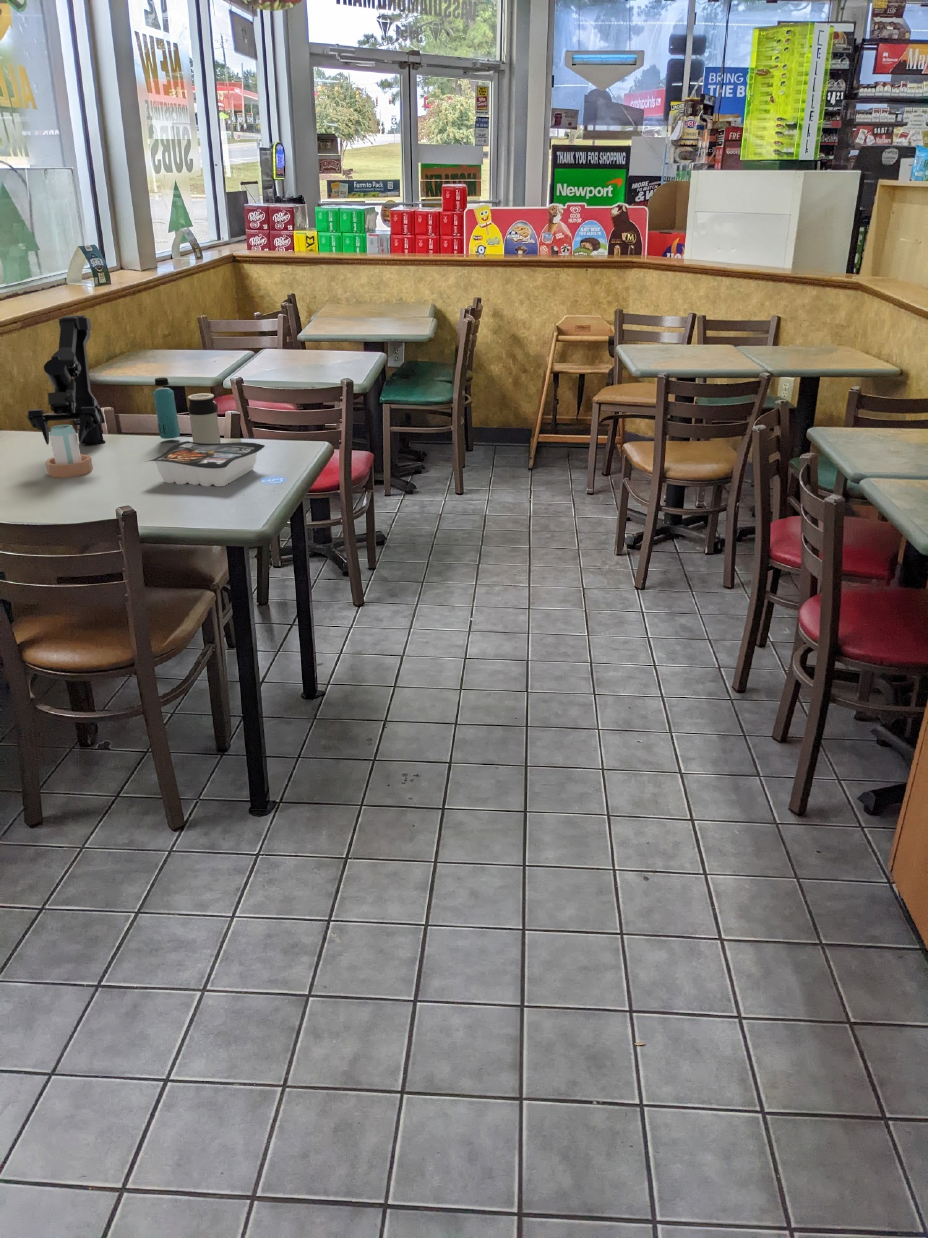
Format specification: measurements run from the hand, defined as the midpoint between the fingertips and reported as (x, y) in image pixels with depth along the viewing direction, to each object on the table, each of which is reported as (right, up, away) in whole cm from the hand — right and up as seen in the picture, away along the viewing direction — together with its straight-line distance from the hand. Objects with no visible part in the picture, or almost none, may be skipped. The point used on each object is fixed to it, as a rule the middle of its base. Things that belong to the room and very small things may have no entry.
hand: (63, 442), depth 278 cm
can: (0, -7, +5) cm, 8 cm away
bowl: (0, -7, +5) cm, 9 cm away
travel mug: (+37, -1, +18) cm, 41 cm away
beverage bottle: (+20, +7, +35) cm, 41 cm away
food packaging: (+42, -10, -2) cm, 43 cm away
